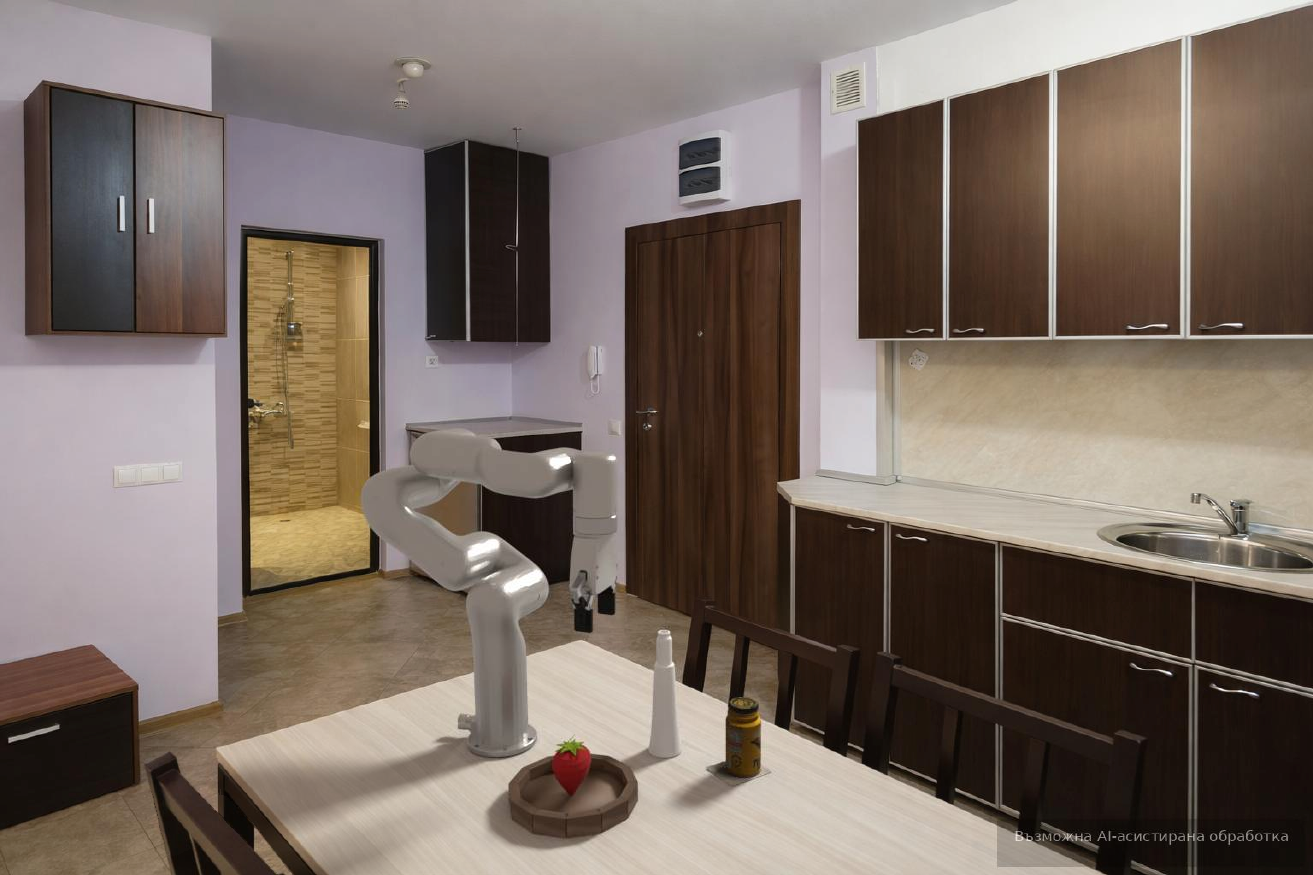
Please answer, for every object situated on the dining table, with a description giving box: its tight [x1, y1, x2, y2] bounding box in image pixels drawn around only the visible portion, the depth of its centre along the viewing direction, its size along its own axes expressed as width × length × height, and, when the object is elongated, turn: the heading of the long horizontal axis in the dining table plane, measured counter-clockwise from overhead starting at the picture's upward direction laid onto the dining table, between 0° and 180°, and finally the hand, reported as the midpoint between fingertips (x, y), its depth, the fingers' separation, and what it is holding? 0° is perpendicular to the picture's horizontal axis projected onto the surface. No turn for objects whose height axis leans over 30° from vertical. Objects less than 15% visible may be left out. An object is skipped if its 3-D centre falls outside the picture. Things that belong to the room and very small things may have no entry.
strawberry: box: [552, 735, 591, 795], centre depth 133 cm, size 6×8×10 cm
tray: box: [507, 752, 639, 839], centre depth 133 cm, size 20×20×3 cm
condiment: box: [706, 696, 772, 787], centre depth 142 cm, size 7×8×12 cm
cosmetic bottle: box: [647, 629, 683, 759], centre depth 149 cm, size 6×6×22 cm
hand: (595, 622), depth 143 cm, fingers open, 9 cm apart
